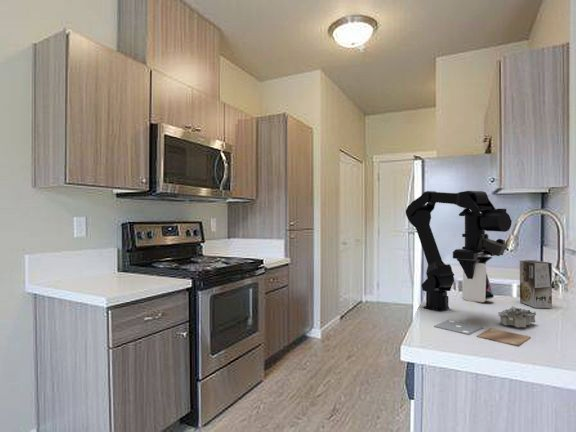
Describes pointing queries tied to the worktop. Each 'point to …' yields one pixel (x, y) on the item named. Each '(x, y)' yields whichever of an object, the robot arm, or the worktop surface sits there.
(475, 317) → the worktop surface
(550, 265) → the coffee box
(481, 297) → the can
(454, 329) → the slate mat
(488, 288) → the supplement container
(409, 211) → the robot arm
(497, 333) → the walnut mat
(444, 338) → the worktop surface
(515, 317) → the egg carton
